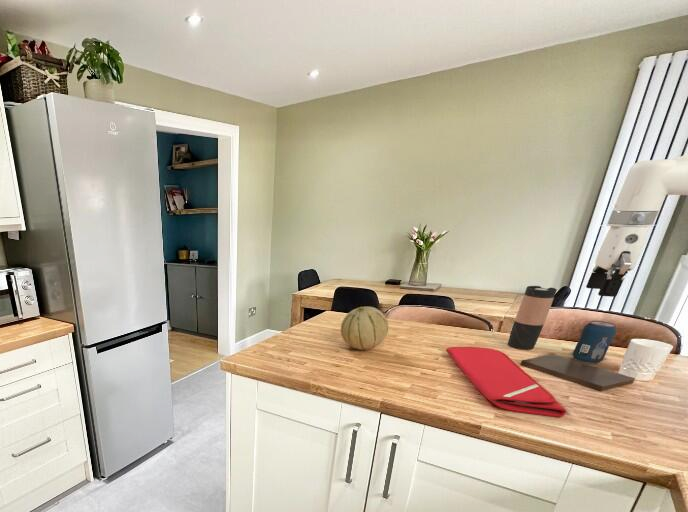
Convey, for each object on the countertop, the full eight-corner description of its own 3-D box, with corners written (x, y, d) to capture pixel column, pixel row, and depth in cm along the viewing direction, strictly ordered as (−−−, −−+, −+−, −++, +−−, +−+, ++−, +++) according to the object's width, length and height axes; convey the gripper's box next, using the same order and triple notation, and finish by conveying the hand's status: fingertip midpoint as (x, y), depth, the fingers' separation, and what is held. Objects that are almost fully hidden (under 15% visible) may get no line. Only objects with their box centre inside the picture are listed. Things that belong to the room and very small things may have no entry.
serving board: (632, 383, 109) (635, 378, 109) (600, 391, 105) (603, 386, 105) (550, 358, 126) (552, 354, 126) (519, 364, 122) (521, 360, 122)
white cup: (615, 368, 118) (630, 336, 114) (654, 376, 113) (672, 342, 109) (614, 376, 113) (631, 343, 109) (655, 384, 108) (674, 350, 104)
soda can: (579, 355, 128) (595, 319, 123) (606, 362, 122) (624, 325, 117) (565, 358, 126) (581, 321, 121) (592, 365, 120) (609, 327, 115)
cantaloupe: (392, 349, 137) (402, 306, 130) (367, 359, 129) (376, 314, 123) (353, 338, 148) (360, 298, 141) (329, 347, 140) (335, 305, 134)
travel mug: (514, 349, 134) (536, 290, 125) (501, 342, 141) (521, 285, 132) (539, 350, 133) (563, 290, 124) (525, 343, 139) (547, 285, 131)
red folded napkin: (500, 357, 128) (504, 346, 126) (566, 418, 93) (572, 405, 92) (444, 352, 133) (447, 342, 131) (487, 409, 98) (492, 396, 96)
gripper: (671, 221, 85) (634, 300, 92) (638, 217, 99) (608, 286, 106) (623, 221, 89) (590, 297, 96) (597, 217, 102) (571, 284, 109)
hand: (600, 292), depth 101 cm, fingers open, 9 cm apart
